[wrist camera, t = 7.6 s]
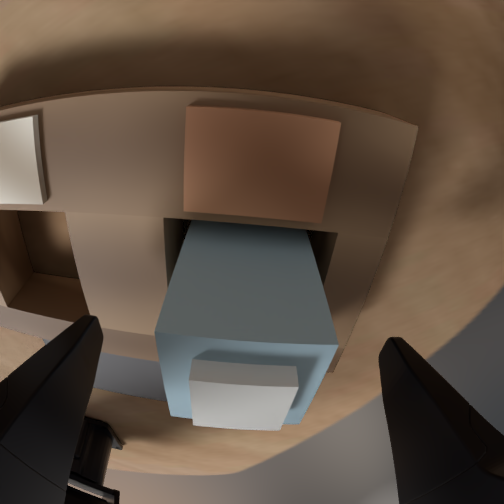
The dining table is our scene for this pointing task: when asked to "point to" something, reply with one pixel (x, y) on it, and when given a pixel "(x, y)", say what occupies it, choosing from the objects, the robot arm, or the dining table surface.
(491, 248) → the dining table surface
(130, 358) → the pad
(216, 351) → the plug
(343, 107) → the socket block
